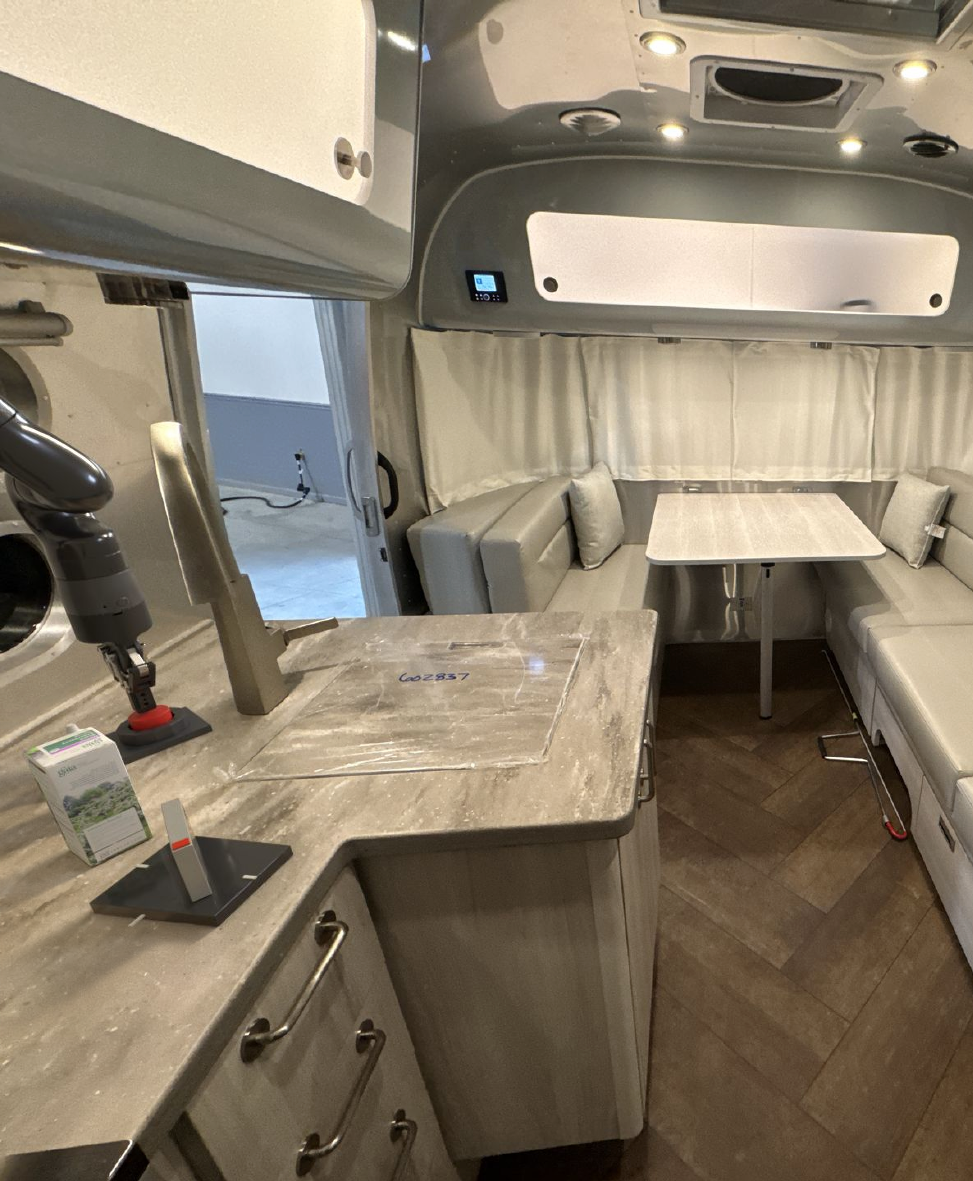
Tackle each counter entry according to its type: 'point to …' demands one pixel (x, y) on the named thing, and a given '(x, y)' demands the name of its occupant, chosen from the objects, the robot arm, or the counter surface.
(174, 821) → the gray battery pack
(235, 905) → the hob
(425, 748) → the counter surface
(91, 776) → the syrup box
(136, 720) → the power button
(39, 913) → the counter surface
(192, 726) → the black button base
